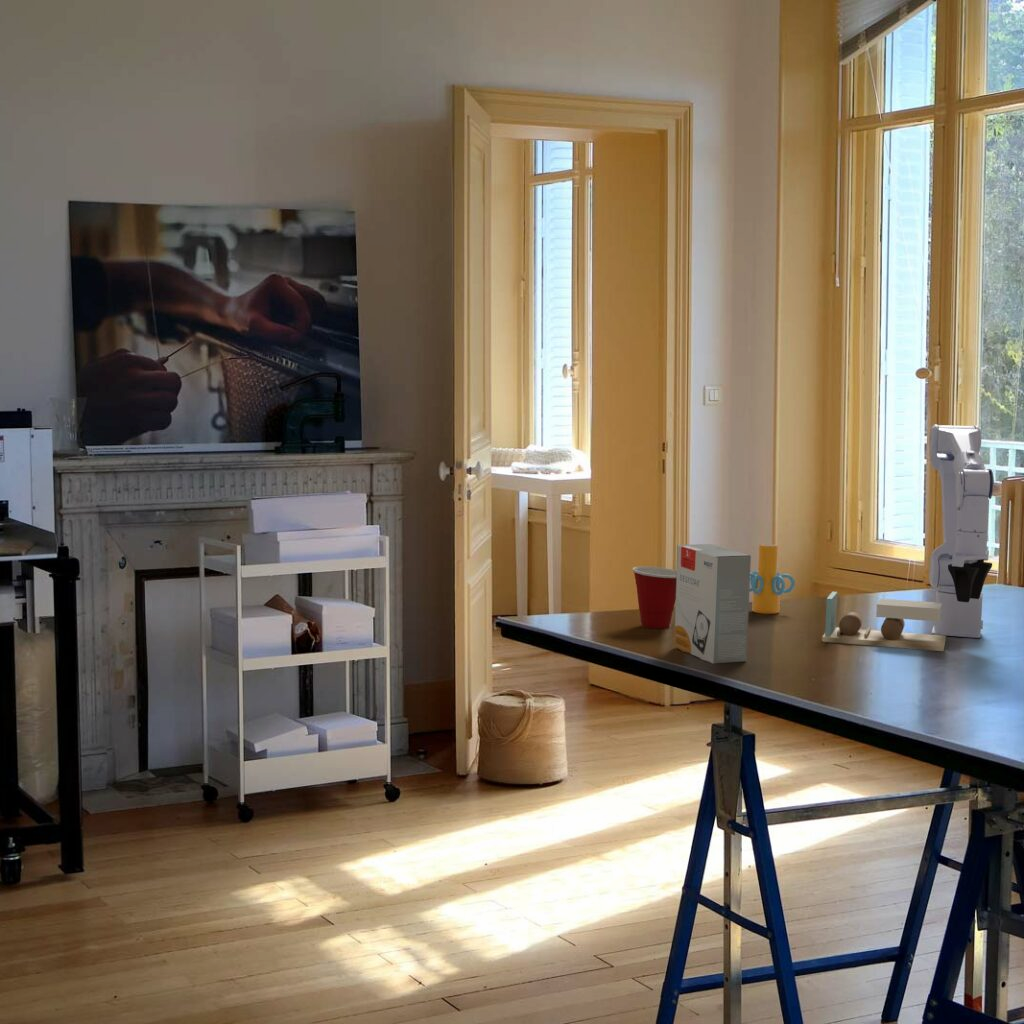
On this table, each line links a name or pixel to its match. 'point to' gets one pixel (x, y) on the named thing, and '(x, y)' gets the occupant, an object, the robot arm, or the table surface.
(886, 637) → the roller bed
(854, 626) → the roller
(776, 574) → the cylinder
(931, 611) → the slab
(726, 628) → the hard drive box
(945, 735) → the table surface
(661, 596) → the plastic cup
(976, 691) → the table surface
